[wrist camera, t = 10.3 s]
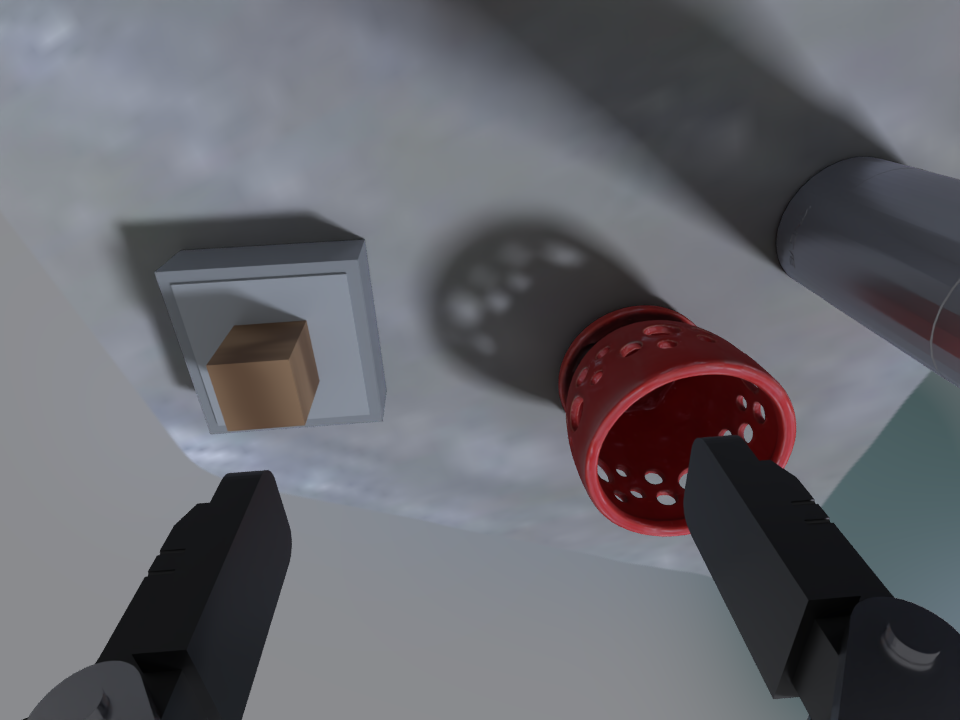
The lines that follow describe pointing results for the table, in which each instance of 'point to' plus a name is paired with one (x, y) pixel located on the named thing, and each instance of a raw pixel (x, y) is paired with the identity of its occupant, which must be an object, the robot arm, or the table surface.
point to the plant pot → (661, 410)
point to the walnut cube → (265, 375)
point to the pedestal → (283, 318)
